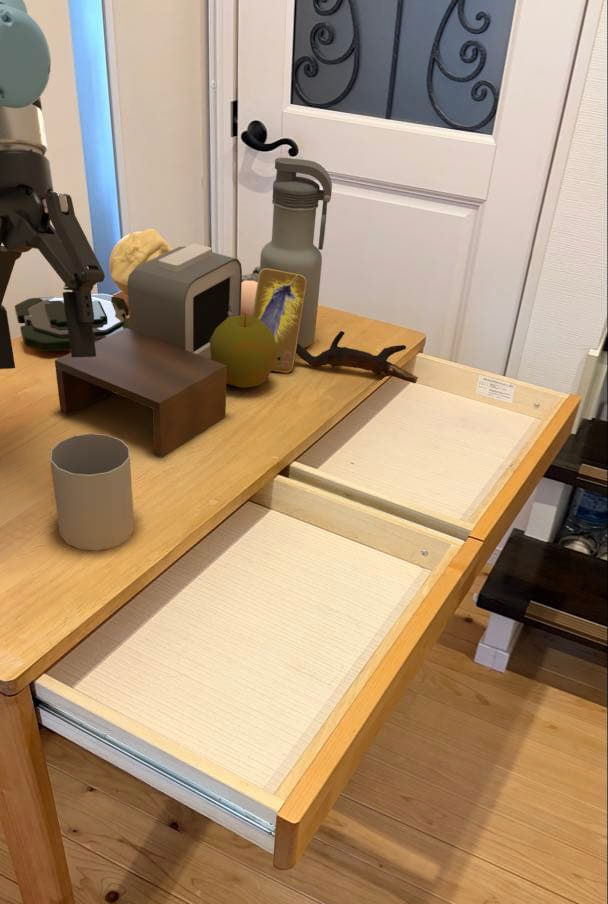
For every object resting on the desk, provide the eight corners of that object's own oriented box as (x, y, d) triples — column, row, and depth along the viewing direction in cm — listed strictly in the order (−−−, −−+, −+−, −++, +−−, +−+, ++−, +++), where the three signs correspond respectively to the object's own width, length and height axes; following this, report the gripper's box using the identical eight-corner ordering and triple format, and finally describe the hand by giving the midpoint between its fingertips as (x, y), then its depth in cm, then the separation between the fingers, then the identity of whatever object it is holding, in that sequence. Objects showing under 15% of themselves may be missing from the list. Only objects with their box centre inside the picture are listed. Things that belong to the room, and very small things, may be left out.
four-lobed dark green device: (121, 306, 144) (119, 280, 141) (144, 350, 131) (143, 323, 128) (14, 313, 138) (10, 286, 135) (27, 360, 125) (23, 332, 122)
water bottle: (318, 330, 142) (335, 157, 125) (314, 355, 134) (332, 174, 117) (259, 324, 142) (268, 150, 125) (253, 348, 134) (261, 166, 117)
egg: (266, 280, 144) (284, 315, 142) (238, 303, 147) (255, 338, 144) (246, 266, 138) (265, 302, 136) (217, 290, 141) (235, 326, 138)
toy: (428, 348, 127) (422, 370, 124) (415, 380, 133) (409, 402, 131) (290, 301, 127) (281, 322, 125) (283, 336, 134) (274, 356, 131)
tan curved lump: (157, 320, 144) (116, 281, 135) (124, 298, 151) (84, 259, 142) (198, 269, 143) (160, 227, 135) (164, 250, 151) (125, 208, 142)
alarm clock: (184, 377, 124) (183, 276, 115) (123, 357, 128) (117, 258, 118) (239, 340, 136) (242, 246, 127) (182, 323, 140) (181, 230, 130)
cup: (61, 507, 96) (52, 434, 90) (133, 504, 98) (128, 432, 92) (58, 552, 90) (48, 477, 84) (134, 548, 92) (130, 474, 85)
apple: (196, 380, 124) (196, 310, 117) (241, 362, 130) (244, 295, 123) (243, 404, 119) (245, 333, 112) (288, 384, 125) (293, 316, 118)
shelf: (161, 457, 107) (159, 403, 102) (60, 413, 113) (54, 360, 109) (225, 416, 116) (226, 365, 111) (129, 378, 123) (126, 327, 118)
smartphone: (259, 266, 125) (259, 267, 126) (244, 365, 127) (244, 366, 128) (308, 275, 126) (307, 276, 127) (292, 374, 128) (292, 374, 129)
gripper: (121, 134, 82) (148, 350, 86) (-29, 187, 96) (0, 372, 100) (62, 117, 76) (93, 351, 80) (-89, 177, 90) (-56, 374, 94)
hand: (42, 363), depth 90 cm, fingers open, 13 cm apart
